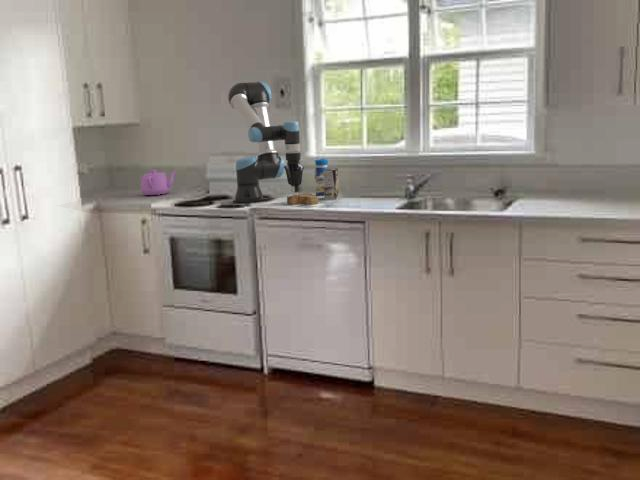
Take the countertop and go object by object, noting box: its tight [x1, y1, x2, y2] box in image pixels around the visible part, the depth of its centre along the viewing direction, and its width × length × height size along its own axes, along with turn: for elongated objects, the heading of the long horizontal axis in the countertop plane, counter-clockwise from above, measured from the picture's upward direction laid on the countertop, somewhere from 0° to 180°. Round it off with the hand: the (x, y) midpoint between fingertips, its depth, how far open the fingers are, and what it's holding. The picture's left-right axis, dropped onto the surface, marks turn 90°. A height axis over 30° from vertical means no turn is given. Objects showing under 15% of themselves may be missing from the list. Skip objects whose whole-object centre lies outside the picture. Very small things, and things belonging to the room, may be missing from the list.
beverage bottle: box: [314, 158, 329, 197], centre depth 365 cm, size 8×8×20 cm
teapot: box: [140, 169, 178, 196], centre depth 406 cm, size 23×21×15 cm
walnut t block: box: [286, 192, 319, 205], centre depth 339 cm, size 14×13×4 cm
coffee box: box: [323, 167, 340, 201], centre depth 351 cm, size 9×6×16 cm
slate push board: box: [275, 200, 333, 209], centre depth 341 cm, size 26×18×1 cm
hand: (295, 198), depth 345 cm, fingers closed
